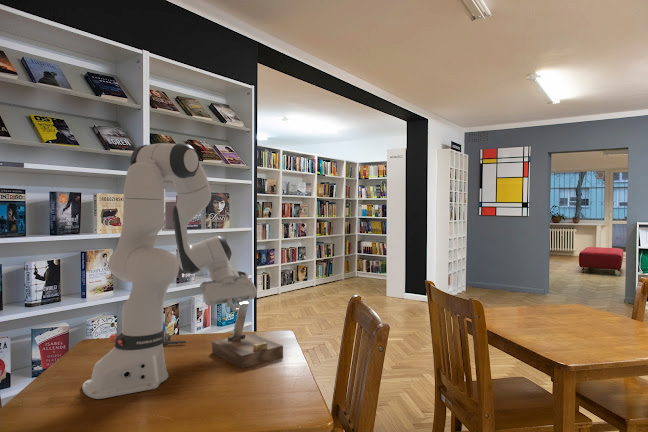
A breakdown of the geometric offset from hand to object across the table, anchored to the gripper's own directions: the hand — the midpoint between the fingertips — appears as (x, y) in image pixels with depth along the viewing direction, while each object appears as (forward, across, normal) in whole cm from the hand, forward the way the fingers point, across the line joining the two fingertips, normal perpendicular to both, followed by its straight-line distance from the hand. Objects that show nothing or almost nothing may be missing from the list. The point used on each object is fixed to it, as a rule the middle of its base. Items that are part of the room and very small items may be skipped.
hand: (237, 310), depth 155 cm
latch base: (+15, 0, +6) cm, 16 cm away
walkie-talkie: (-8, -17, +29) cm, 35 cm away
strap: (+4, 0, +1) cm, 4 cm away
